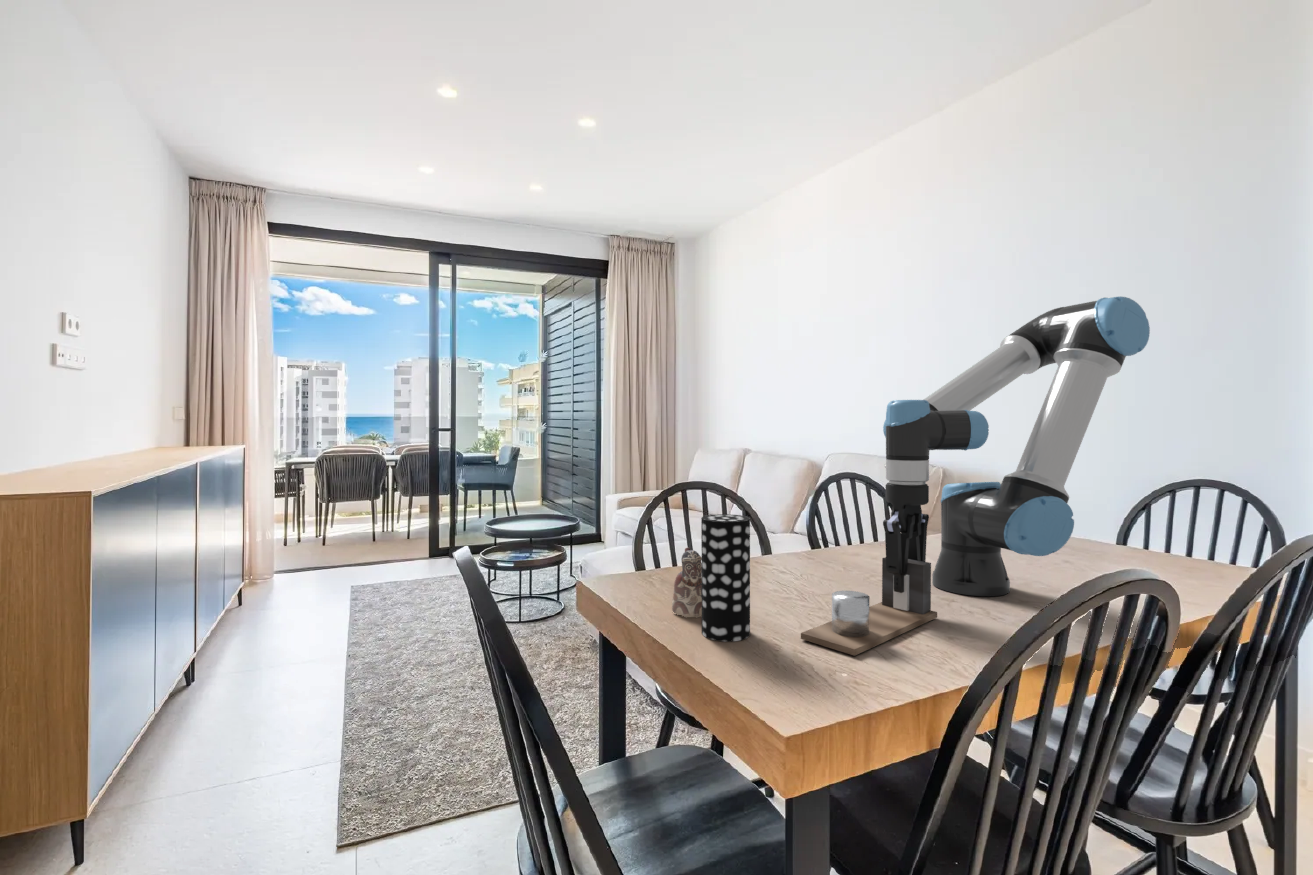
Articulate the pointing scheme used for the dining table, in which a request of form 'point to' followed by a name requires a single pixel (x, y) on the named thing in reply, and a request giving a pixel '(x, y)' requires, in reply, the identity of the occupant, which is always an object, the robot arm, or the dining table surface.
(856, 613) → the steel tin
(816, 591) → the dining table surface
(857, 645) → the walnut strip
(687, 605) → the figurine
